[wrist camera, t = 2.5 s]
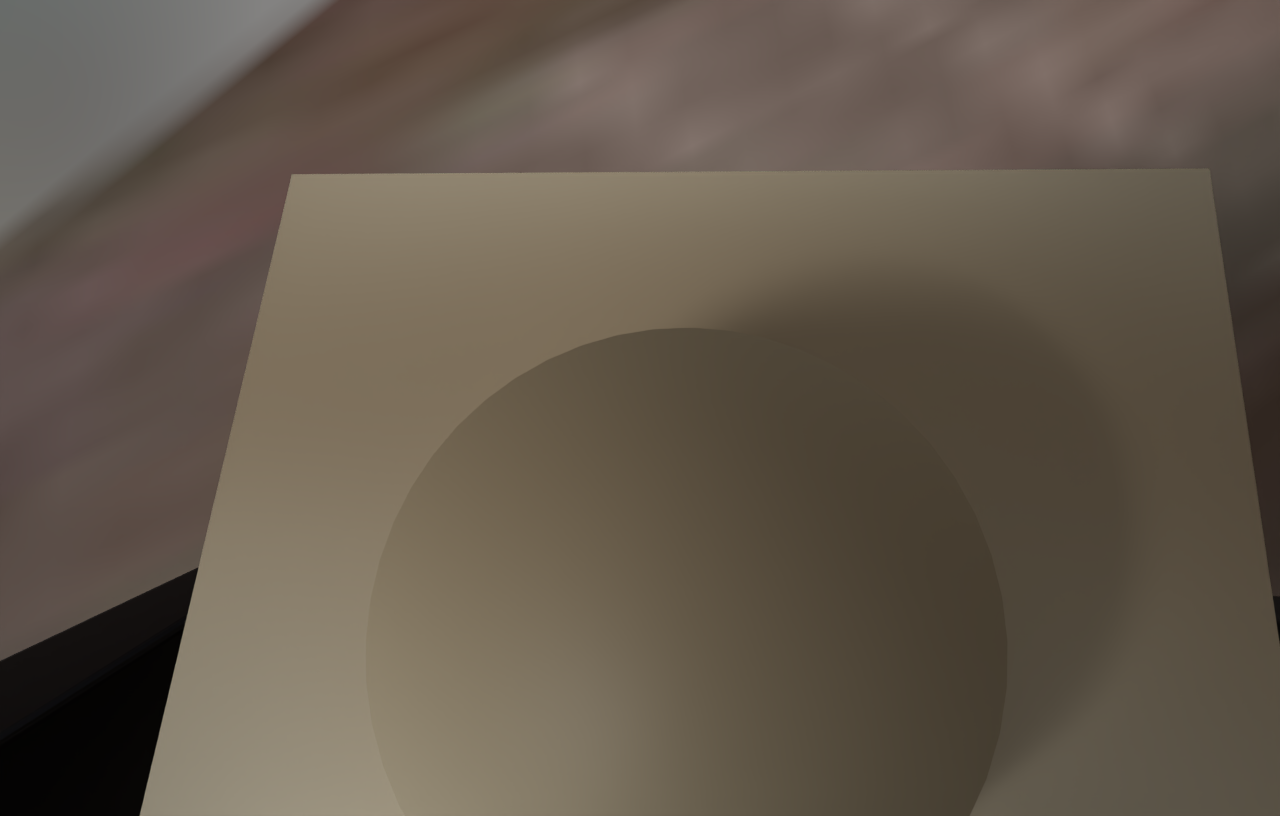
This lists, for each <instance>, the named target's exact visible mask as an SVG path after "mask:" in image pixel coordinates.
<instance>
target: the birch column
mask: <svg viewBox="0 0 1280 816" xmlns="http://www.w3.org/2000/svg"><path fill="white" fill-rule="evenodd" d="M140 816H1280V643H1279V636H1278V630H1277V623H1276V616H1275V609H1274V602H1273V596H1272V589H1271V582H1270V575H1269V569H1268V562H1267V555H1266V548H1265V542H1264V535H1263V528H1262V521H1261V514H1260V508H1259V501H1258V494H1257V487H1256V481H1255V474H1254V467H1253V460H1252V454H1251V447H1250V440H1249V433H1248V426H1247V420H1246V413H1245V406H1244V399H1243V393H1242V386H1241V379H1240V372H1239V365H1238V359H1237V352H1236V345H1235V338H1234V332H1233V325H1232V318H1231V311H1230V305H1229V298H1228V291H1227V284H1226V277H1225V271H1224V264H1223V257H1222V250H1221V244H1220V237H1219V230H1218V223H1217V216H1216V210H1215V203H1214V196H1213V189H1212V183H1211V176H1210V169H1209V168H1204V169H1049V170H895V171H740V172H586V173H431V174H292V177H291V181H290V185H289V189H288V193H287V198H286V202H285V206H284V210H283V215H282V219H281V223H280V227H279V231H278V236H277V240H276V244H275V248H274V252H273V257H272V261H271V265H270V269H269V273H268V278H267V282H266V286H265V290H264V295H263V299H262V303H261V307H260V311H259V316H258V320H257V324H256V328H255V332H254V337H253V341H252V345H251V349H250V353H249V358H248V362H247V366H246V370H245V375H244V379H243V383H242V387H241V391H240V396H239V400H238V404H237V408H236V412H235V417H234V421H233V425H232V429H231V433H230V438H229V442H228V446H227V450H226V454H225V459H224V463H223V467H222V471H221V476H220V480H219V484H218V488H217V492H216V497H215V501H214V505H213V509H212V513H211V518H210V522H209V526H208V530H207V534H206V539H205V543H204V547H203V551H202V556H201V560H200V564H199V568H198V572H197V577H196V581H195V585H194V589H193V593H192V598H191V602H190V606H189V610H188V614H187V619H186V623H185V627H184V631H183V636H182V640H181V644H180V648H179V652H178V657H177V661H176V665H175V669H174V673H173V678H172V682H171V686H170V690H169V694H168V699H167V703H166V707H165V711H164V715H163V720H162V724H161V728H160V732H159V737H158V741H157V745H156V749H155V753H154V758H153V762H152V766H151V770H150V774H149V779H148V783H147V787H146V791H145V795H144V800H143V804H142V808H141V812H140Z"/></svg>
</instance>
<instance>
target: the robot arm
mask: <svg viewBox="0 0 1280 816" xmlns="http://www.w3.org/2000/svg"><path fill="white" fill-rule="evenodd" d="M198 568H199V567H198ZM198 568H196V569H194V570H192V571H190V572H187V573H185V574H183V575H181V576H179V577H177V578H175V579H173V580H171V581H168V582H166V583H164V584H162V585H160V586H158V587H156V588H154V589H152V590H149V591H147V592H145V593H143V594H141V595H139V596H137V597H135V598H132V599H130V600H128V601H126V602H124V603H122V604H120V605H118V606H116V607H113V608H111V609H109V610H107V611H105V612H103V613H101V614H99V615H97V616H94V617H92V618H90V619H88V620H86V621H84V622H82V623H80V624H78V625H75V626H73V627H71V628H69V629H67V630H65V631H63V632H61V633H58V634H56V635H54V636H52V637H50V638H48V639H46V640H44V641H42V642H39V643H37V644H35V645H33V646H31V647H29V648H27V649H25V650H23V651H20V652H18V653H16V654H14V655H12V656H10V657H8V658H6V659H4V660H1V661H0V816H140V812H141V808H142V804H143V800H144V795H145V791H146V787H147V783H148V779H149V774H150V770H151V766H152V762H153V758H154V753H155V749H156V745H157V741H158V737H159V732H160V728H161V724H162V720H163V715H164V711H165V707H166V703H167V699H168V694H169V690H170V686H171V682H172V678H173V673H174V669H175V665H176V661H177V657H178V652H179V648H180V644H181V640H182V636H183V631H184V627H185V623H186V619H187V614H188V610H189V606H190V602H191V598H192V593H193V589H194V585H195V581H196V577H197V572H198ZM1273 602H1274V609H1275V616H1276V623H1277V630H1278V636H1279V643H1280V596H1273Z"/></svg>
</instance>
